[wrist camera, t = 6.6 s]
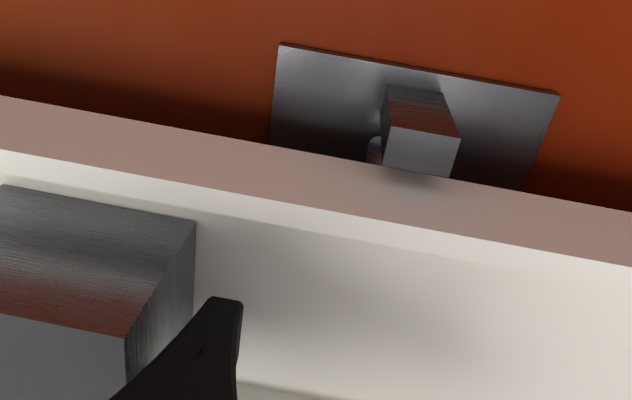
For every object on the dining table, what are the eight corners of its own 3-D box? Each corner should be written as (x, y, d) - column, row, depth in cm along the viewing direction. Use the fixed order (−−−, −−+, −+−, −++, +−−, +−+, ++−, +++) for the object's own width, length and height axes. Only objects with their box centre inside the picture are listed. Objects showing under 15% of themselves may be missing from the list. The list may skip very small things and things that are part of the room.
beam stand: (556, 92, 14) (612, 144, 11) (439, 375, 20) (453, 464, 17) (280, 42, 14) (253, 78, 11) (246, 339, 20) (222, 421, 17)
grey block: (196, 222, 12) (123, 338, 9) (191, 355, 15) (132, 488, 11) (3, 183, 12) (-144, 283, 9) (29, 322, 15) (-78, 443, 11)
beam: (871, 256, 13) (984, 333, 10) (701, 446, 17) (755, 533, 14) (-192, 59, 13) (-315, 89, 11) (-108, 290, 17) (-185, 349, 15)
